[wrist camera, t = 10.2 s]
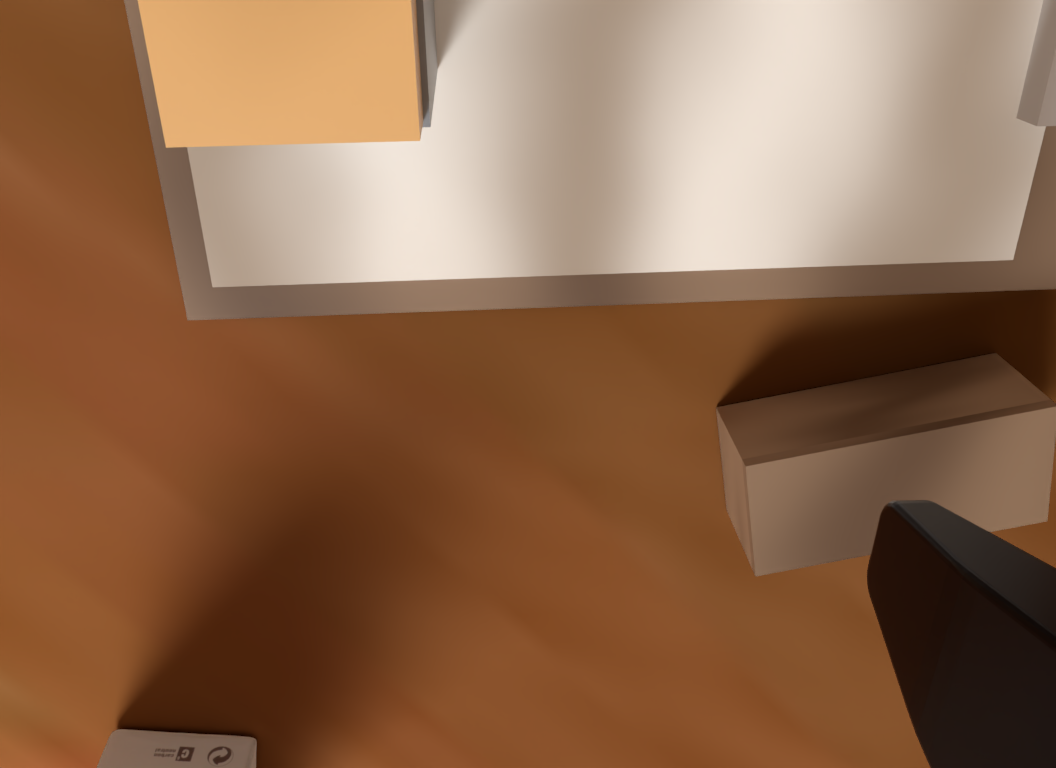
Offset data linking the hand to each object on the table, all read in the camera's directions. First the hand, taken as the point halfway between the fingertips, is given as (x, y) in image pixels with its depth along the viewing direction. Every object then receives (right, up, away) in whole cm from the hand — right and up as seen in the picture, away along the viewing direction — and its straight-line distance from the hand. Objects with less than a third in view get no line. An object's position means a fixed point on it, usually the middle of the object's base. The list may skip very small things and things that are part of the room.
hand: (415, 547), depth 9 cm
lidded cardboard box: (-3, +9, +9) cm, 13 cm away
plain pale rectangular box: (+10, 0, +15) cm, 18 cm away
